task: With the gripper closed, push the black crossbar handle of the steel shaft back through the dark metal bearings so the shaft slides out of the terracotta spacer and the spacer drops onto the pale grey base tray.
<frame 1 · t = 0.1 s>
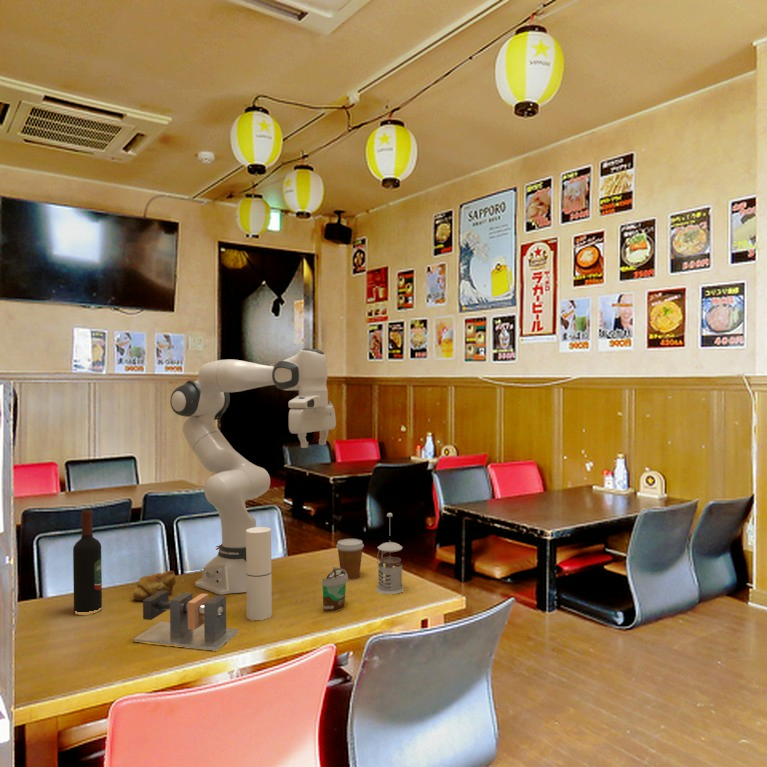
hand: (313, 446, 191), 48 cm above the table, tool pointing down, fingers open, 8 cm apart
bread roll: (153, 597, 198), on the table
shaft frame: (186, 637, 166), on the table
shaft: (186, 607, 166), point 8 cm above the table, slide at 0.0 cm, touching spacer
french press: (388, 589, 203), on the table
cylindrical container: (259, 616, 181), on the table
disposable coffee cup: (350, 577, 216), on the table
food container: (337, 607, 188), on the table
spacer: (198, 624, 165), point 4 cm above the table, touching shaft
wine bottle: (88, 611, 186), on the table
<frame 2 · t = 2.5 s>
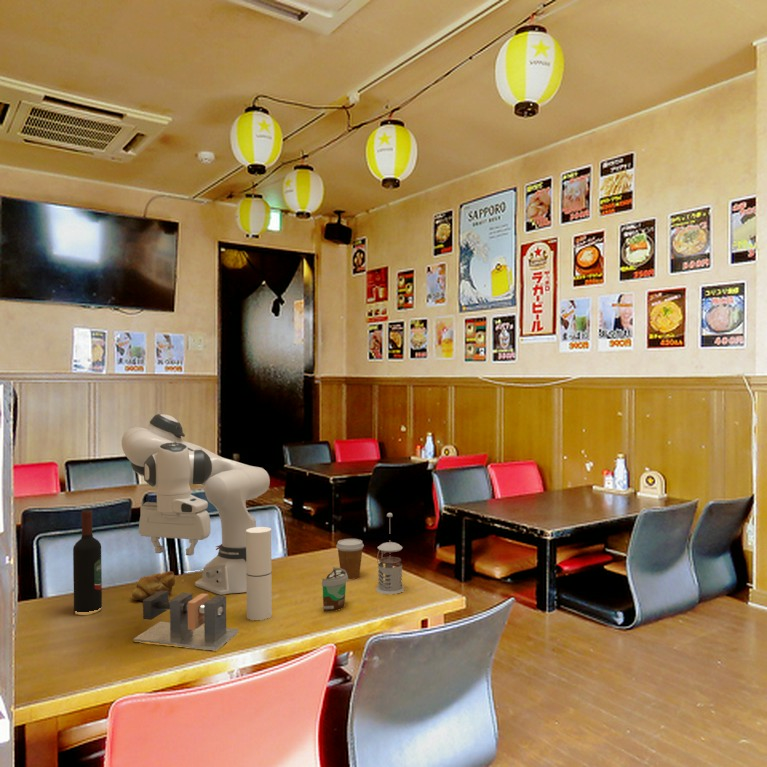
hand: (174, 553, 170), 21 cm above the table, tool pointing down, fingers open, 8 cm apart
nothing on the table moved.
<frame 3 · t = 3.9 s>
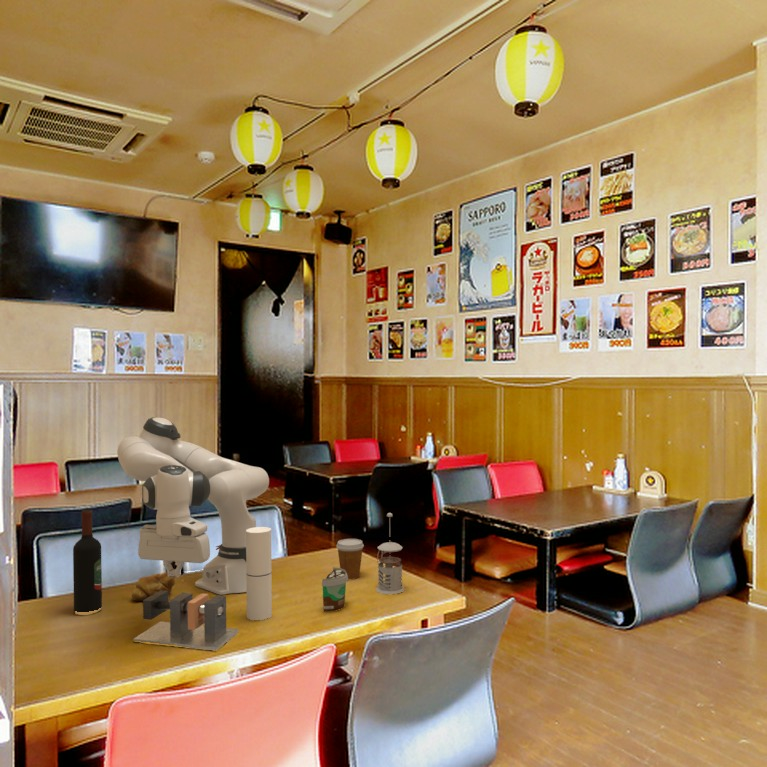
hand: (174, 576, 170), 15 cm above the table, tool pointing down, fingers closed
nothing on the table moved.
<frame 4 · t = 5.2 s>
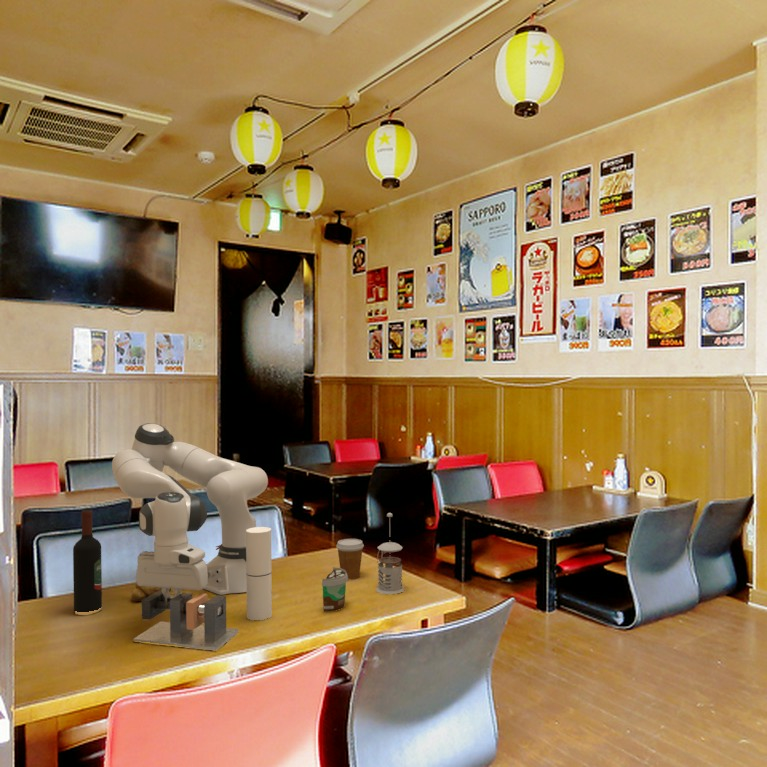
hand: (171, 603, 170), 8 cm above the table, tool pointing down, fingers closed
shaft: (184, 607, 166), point 8 cm above the table, slide at 0.4 cm, touching gripper, spacer
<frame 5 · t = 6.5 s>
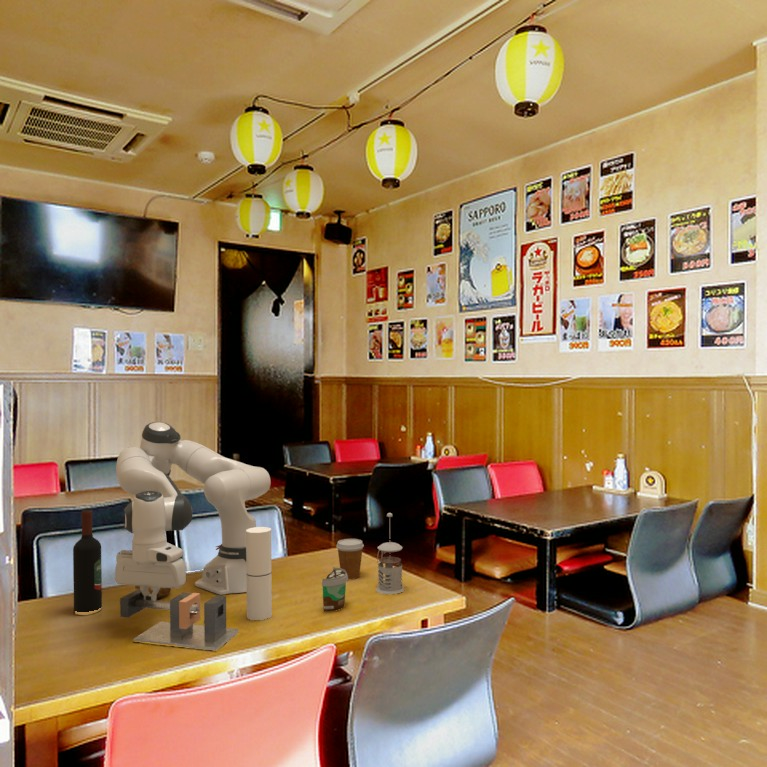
hand: (150, 601, 172), 8 cm above the table, tool pointing down, fingers closed
shaft: (163, 605, 167), point 8 cm above the table, slide at 7.0 cm, touching gripper
spacer: (190, 623, 166), point 4 cm above the table, touching shaft frame
everything else where it was.
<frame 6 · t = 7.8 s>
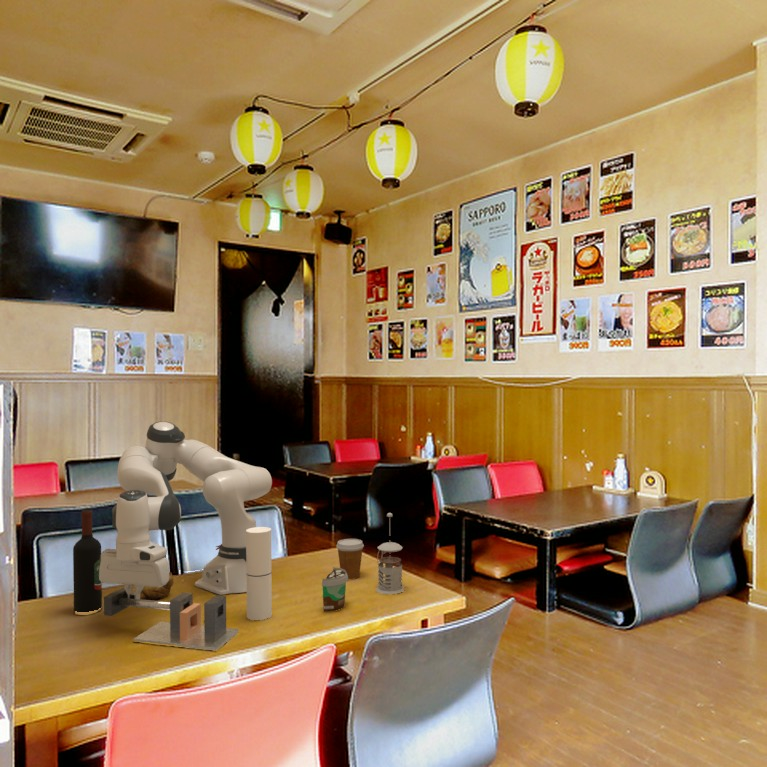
hand: (134, 600, 173), 8 cm above the table, tool pointing down, fingers closed
shaft: (146, 603, 169), point 8 cm above the table, slide at 12.0 cm, touching gripper
spacer: (190, 634, 166), point 1 cm above the table, touching shaft frame
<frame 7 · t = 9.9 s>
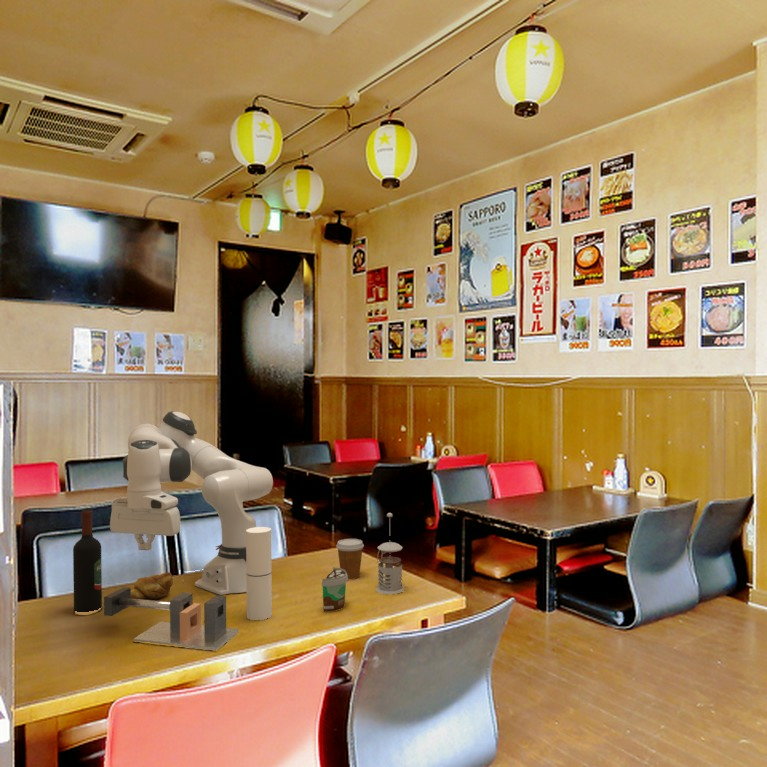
hand: (145, 549, 172), 22 cm above the table, tool pointing down, fingers closed
shaft: (146, 603, 169), point 8 cm above the table, slide at 12.0 cm
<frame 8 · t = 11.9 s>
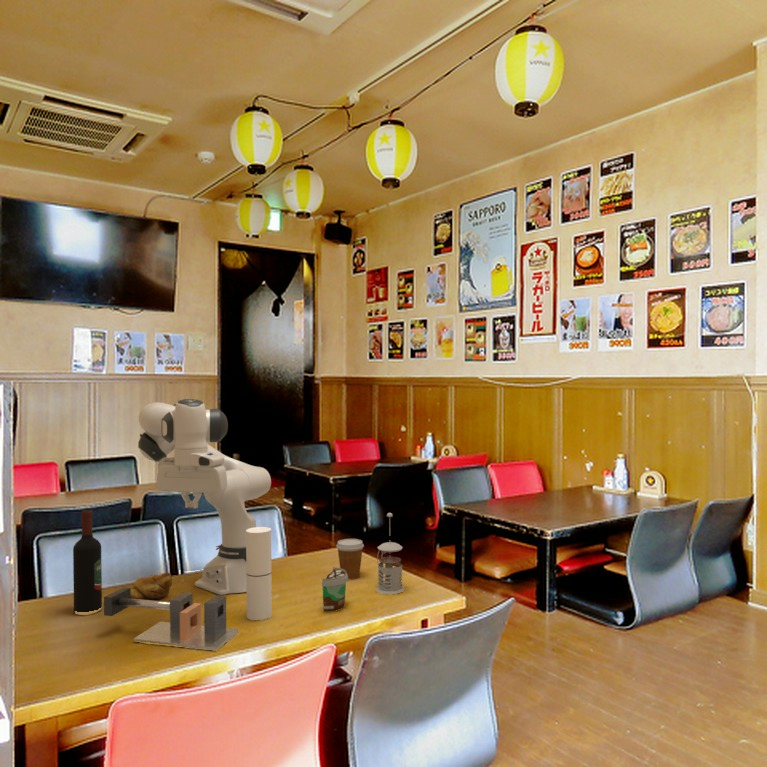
hand: (191, 507, 173), 33 cm above the table, tool pointing down, fingers closed
at the end: shaft slide at 12.0 cm; spacer point 1.0 cm above the table; spacer touching shaft frame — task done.
